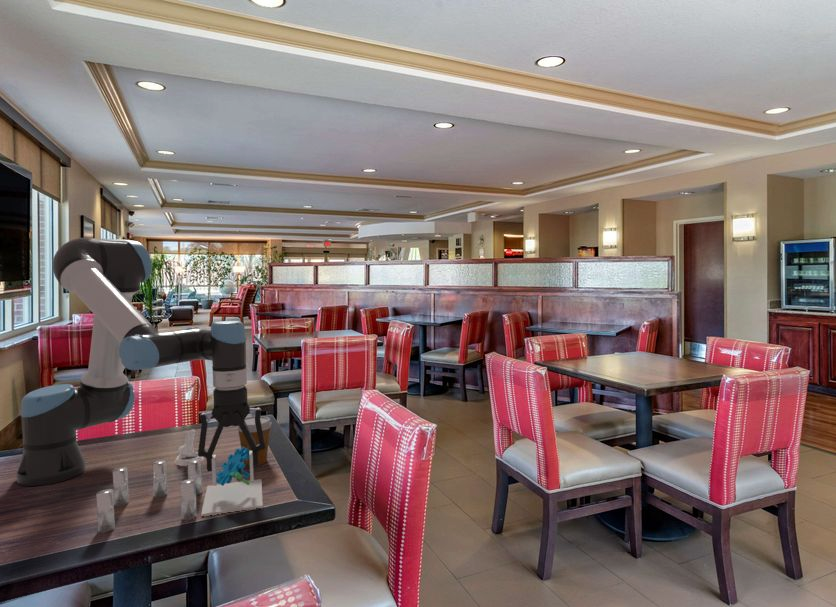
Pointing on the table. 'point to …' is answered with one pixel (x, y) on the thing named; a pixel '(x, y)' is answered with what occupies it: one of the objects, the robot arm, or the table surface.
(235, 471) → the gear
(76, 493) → the table surface
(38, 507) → the table surface
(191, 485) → the spacer posts
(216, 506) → the rubber mat
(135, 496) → the table surface
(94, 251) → the robot arm
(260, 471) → the table surface
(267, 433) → the disposable coffee cup
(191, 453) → the hook
